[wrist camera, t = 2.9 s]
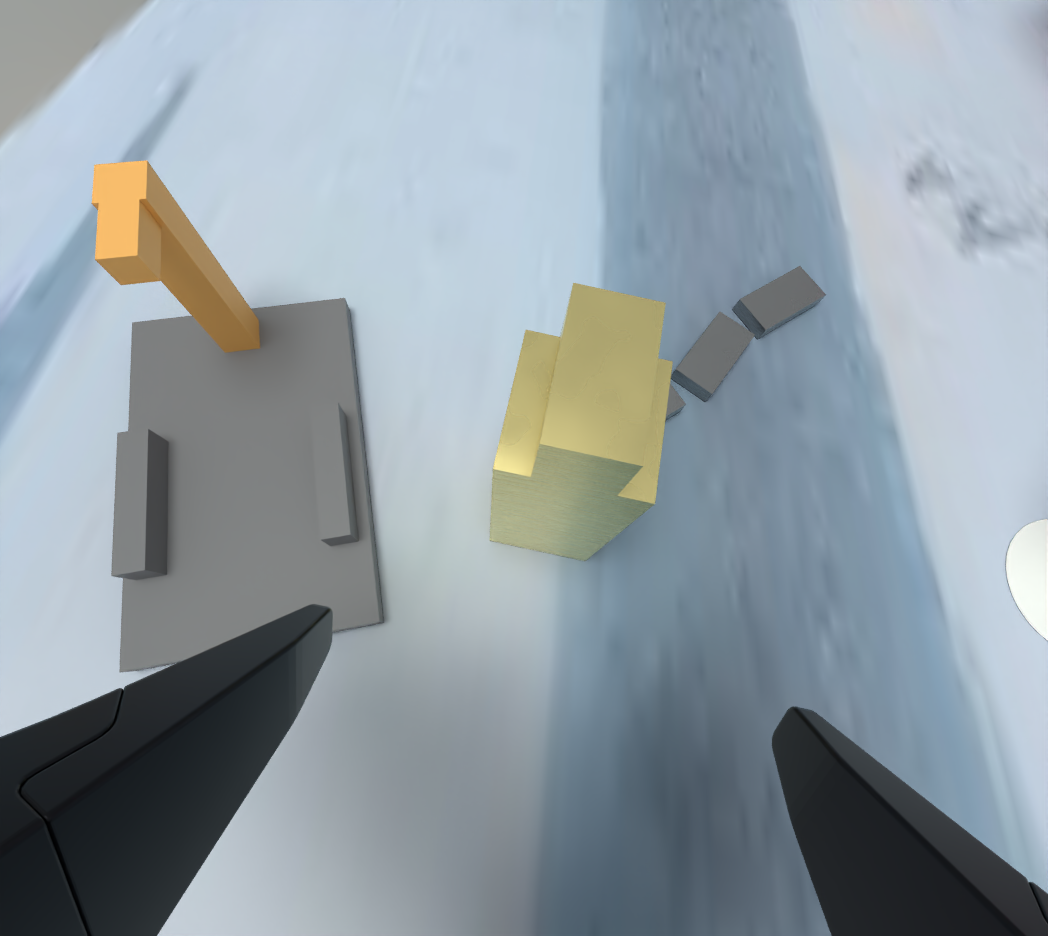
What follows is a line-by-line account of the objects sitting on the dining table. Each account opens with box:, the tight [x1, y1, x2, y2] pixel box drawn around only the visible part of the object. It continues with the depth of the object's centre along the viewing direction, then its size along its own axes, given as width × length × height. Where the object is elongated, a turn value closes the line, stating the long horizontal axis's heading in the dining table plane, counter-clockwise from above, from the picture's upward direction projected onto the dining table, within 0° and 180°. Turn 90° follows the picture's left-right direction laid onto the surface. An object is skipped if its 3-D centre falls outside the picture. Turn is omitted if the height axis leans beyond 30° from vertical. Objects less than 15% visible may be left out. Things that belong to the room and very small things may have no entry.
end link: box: [490, 283, 673, 561], centre depth 19 cm, size 4×4×13 cm
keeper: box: [92, 161, 384, 672], centre depth 20 cm, size 16×10×10 cm, turn 11°
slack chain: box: [665, 266, 826, 420], centre depth 28 cm, size 4×16×1 cm, turn 132°
